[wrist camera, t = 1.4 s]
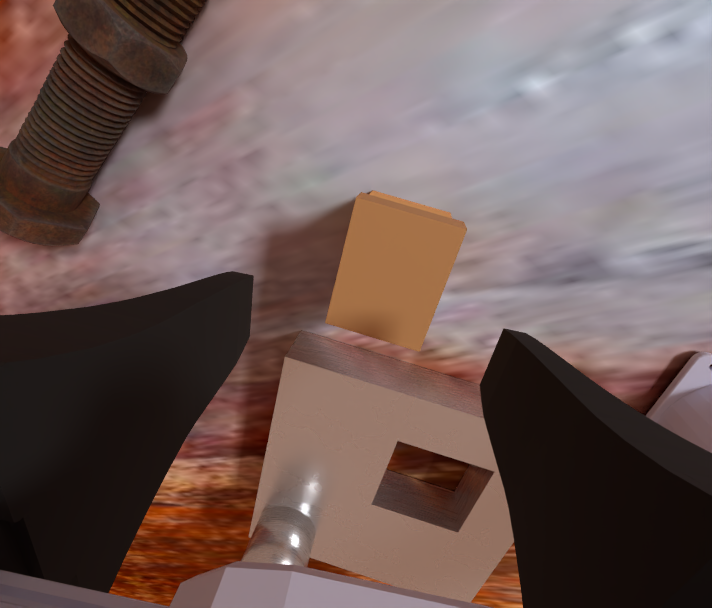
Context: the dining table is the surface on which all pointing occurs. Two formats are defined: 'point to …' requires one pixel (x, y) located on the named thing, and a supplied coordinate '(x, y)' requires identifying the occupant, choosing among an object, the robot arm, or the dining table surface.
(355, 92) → the dining table surface
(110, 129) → the bolt
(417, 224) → the tan chamfered block
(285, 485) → the grey slab with hole
